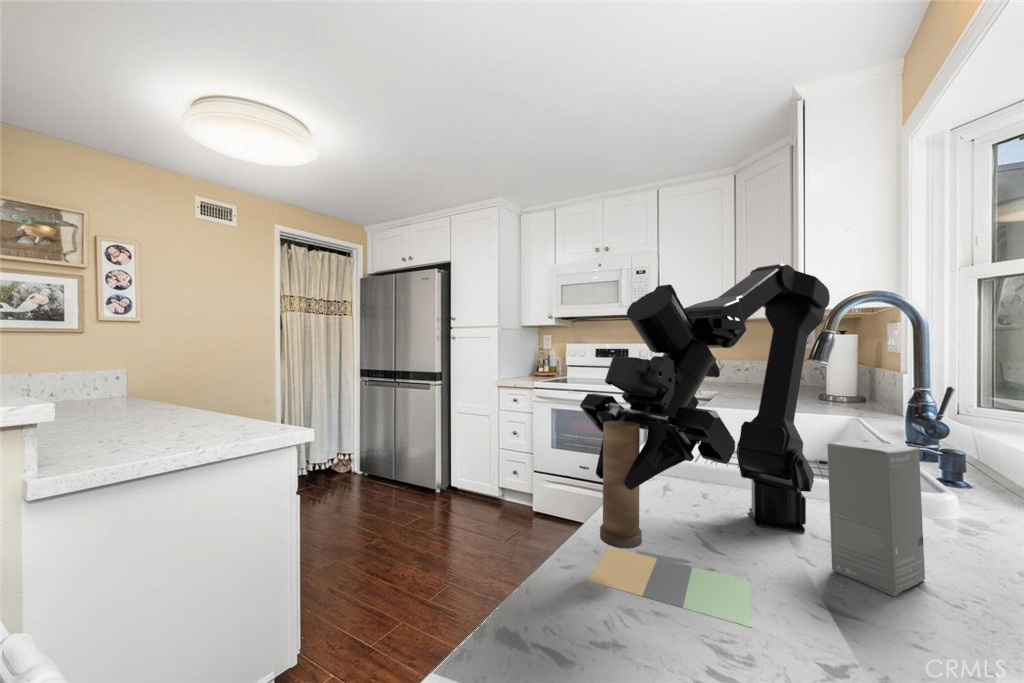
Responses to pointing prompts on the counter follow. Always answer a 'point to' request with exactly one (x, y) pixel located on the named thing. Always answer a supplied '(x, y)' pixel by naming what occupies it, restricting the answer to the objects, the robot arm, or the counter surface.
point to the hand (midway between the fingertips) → (612, 481)
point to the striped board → (676, 585)
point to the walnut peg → (620, 485)
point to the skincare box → (876, 514)
